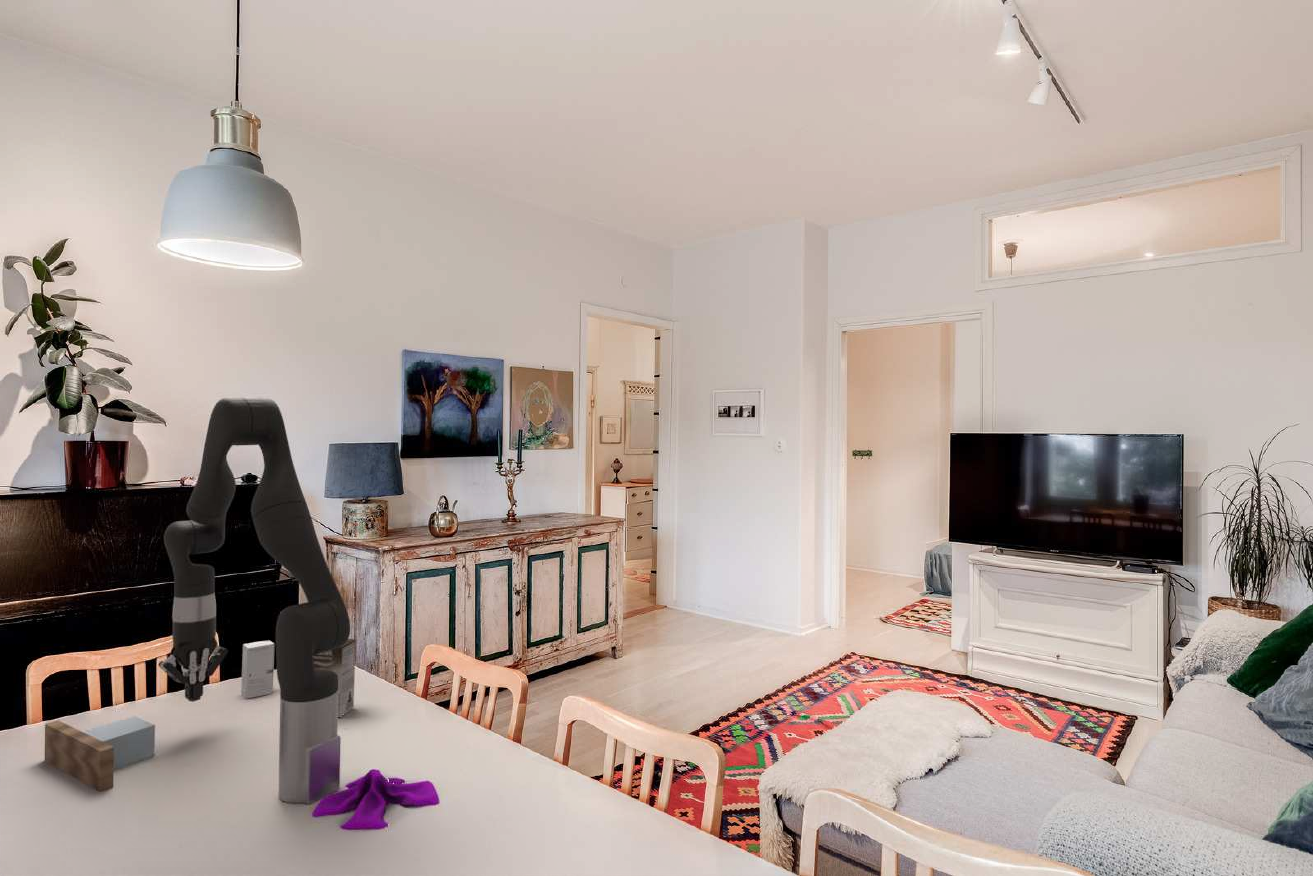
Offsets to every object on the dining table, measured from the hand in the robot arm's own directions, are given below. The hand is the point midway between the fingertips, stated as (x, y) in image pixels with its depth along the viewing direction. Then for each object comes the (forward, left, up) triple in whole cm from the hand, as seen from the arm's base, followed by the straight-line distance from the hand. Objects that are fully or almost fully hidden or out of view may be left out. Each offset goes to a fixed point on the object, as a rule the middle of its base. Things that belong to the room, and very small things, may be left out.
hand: (194, 700), depth 146 cm
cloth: (-52, -2, -8) cm, 53 cm away
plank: (+1, +20, -7) cm, 21 cm away
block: (+1, +14, -8) cm, 16 cm away
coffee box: (-12, -22, -8) cm, 27 cm away
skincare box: (+12, -20, -8) cm, 25 cm away
